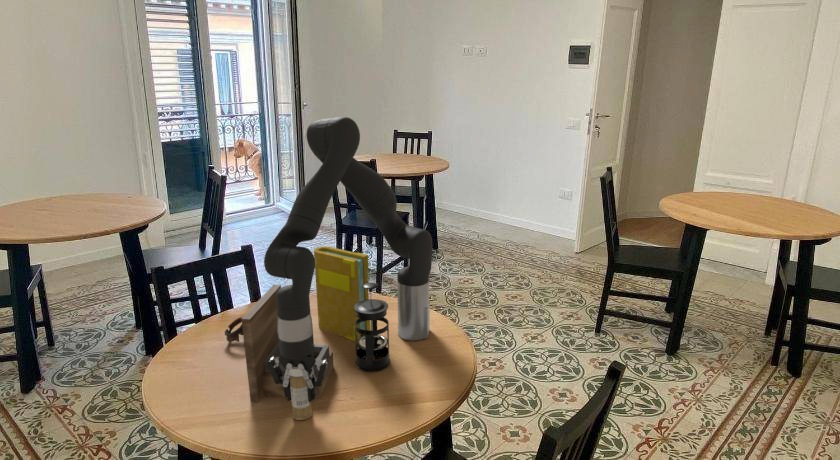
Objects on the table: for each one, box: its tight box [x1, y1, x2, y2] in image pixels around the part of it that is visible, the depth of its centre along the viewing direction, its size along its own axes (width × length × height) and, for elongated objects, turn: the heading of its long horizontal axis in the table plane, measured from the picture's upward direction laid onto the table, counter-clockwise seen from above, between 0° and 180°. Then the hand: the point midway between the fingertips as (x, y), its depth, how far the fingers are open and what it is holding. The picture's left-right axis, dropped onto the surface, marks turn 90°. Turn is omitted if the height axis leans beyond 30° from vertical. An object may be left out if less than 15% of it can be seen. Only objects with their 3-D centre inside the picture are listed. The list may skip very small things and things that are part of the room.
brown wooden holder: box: [241, 284, 335, 403], centre depth 135 cm, size 16×20×22 cm
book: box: [313, 245, 371, 342], centre depth 161 cm, size 17×7×25 cm, turn 58°
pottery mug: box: [224, 316, 244, 343], centre depth 158 cm, size 12×10×8 cm
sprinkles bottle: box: [289, 367, 313, 421], centre depth 122 cm, size 5×5×14 cm
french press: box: [354, 282, 391, 373], centre depth 142 cm, size 12×9×23 cm
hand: (301, 399), depth 123 cm, fingers closed on sprinkles bottle, 4 cm apart
